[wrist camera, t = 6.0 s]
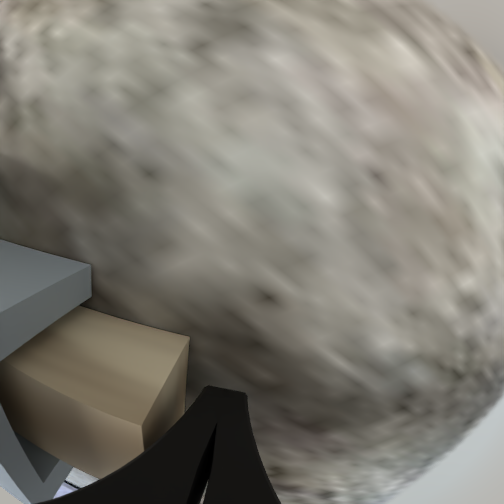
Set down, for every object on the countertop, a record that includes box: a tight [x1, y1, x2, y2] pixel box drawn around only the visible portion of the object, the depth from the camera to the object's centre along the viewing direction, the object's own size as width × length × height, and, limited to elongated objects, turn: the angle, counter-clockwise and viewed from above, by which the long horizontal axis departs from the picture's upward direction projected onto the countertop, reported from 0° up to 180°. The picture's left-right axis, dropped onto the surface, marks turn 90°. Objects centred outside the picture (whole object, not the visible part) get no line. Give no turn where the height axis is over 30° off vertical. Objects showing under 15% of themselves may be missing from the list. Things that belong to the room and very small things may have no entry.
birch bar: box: [0, 305, 190, 479], centre depth 7 cm, size 4×8×4 cm, turn 80°
